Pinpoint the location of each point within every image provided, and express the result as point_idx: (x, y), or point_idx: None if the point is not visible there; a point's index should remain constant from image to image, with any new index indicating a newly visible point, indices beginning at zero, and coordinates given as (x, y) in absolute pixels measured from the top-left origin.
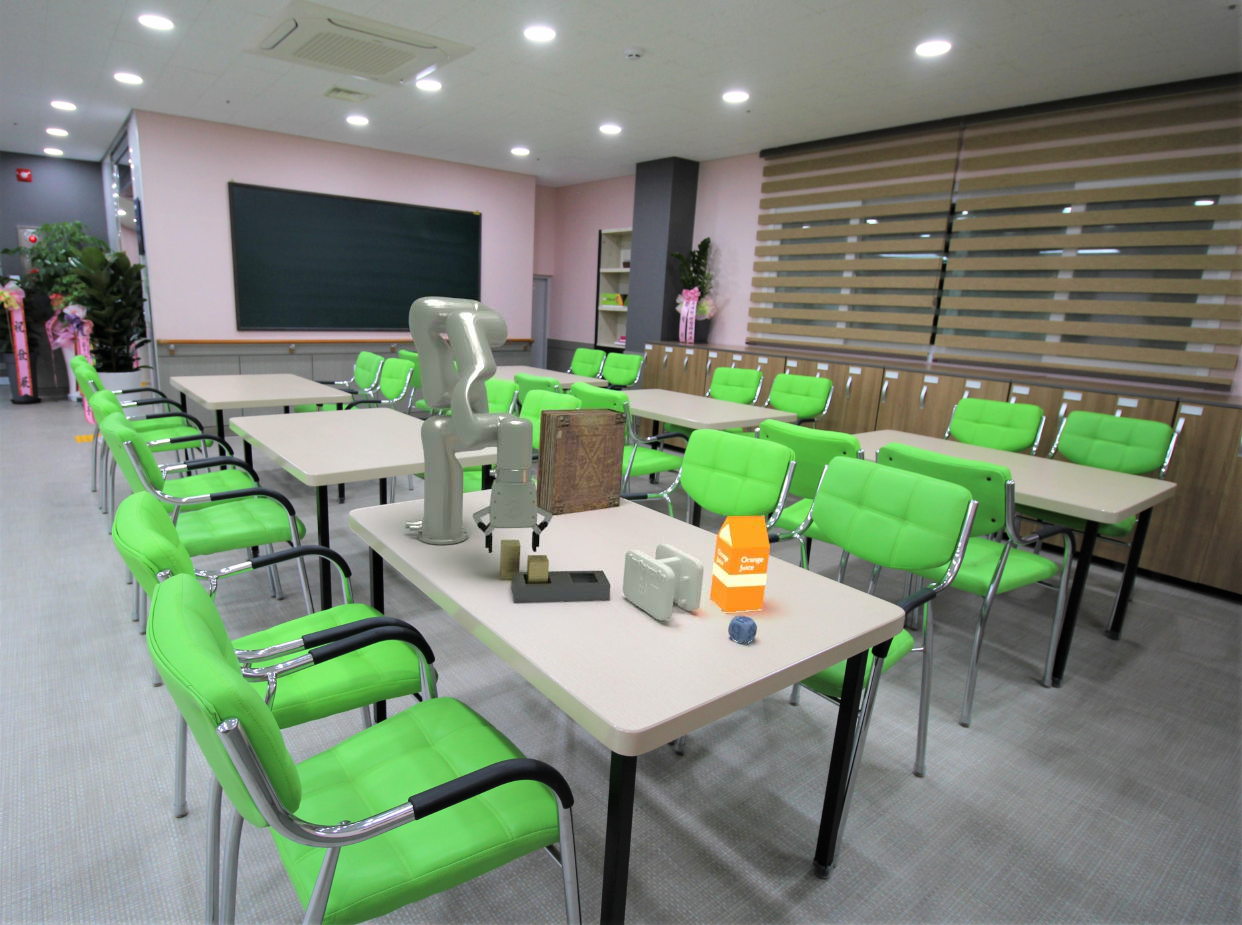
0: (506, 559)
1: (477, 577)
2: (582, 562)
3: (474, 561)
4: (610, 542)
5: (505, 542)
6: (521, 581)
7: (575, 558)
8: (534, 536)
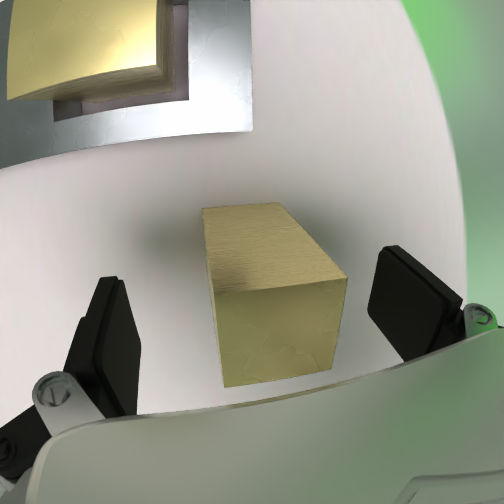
0: (284, 240)
1: (357, 228)
2: (16, 361)
3: (343, 349)
4: None
5: (313, 338)
6: (207, 2)
7: None
8: (93, 354)
